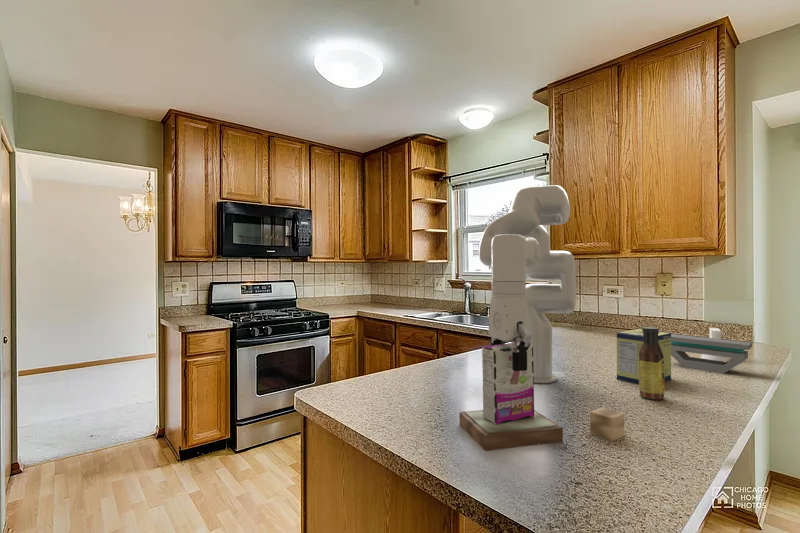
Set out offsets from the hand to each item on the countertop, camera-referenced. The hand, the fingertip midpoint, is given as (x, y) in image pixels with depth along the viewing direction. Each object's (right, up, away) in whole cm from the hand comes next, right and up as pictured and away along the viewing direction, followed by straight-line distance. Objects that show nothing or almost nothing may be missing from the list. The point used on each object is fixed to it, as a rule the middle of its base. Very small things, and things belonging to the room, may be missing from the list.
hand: (508, 365), depth 92 cm
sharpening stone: (+87, -15, +57) cm, 105 cm away
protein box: (+56, -15, +43) cm, 73 cm away
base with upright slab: (+102, -15, +72) cm, 126 cm away
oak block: (+22, -15, -1) cm, 27 cm away
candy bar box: (0, -12, 0) cm, 12 cm away
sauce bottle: (+47, -15, +25) cm, 56 cm away
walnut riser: (0, -15, 0) cm, 15 cm away
